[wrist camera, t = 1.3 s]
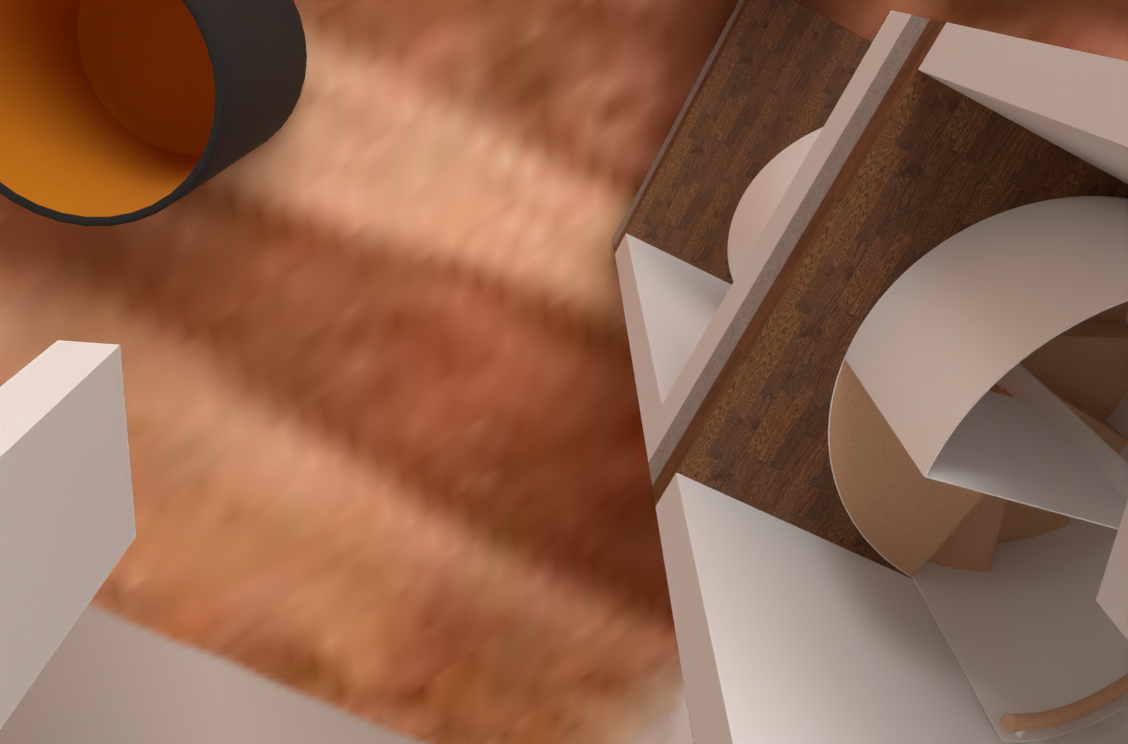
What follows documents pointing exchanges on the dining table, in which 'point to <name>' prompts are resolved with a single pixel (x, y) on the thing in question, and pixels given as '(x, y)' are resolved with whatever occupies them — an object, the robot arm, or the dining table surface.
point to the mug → (138, 99)
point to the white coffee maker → (888, 382)
